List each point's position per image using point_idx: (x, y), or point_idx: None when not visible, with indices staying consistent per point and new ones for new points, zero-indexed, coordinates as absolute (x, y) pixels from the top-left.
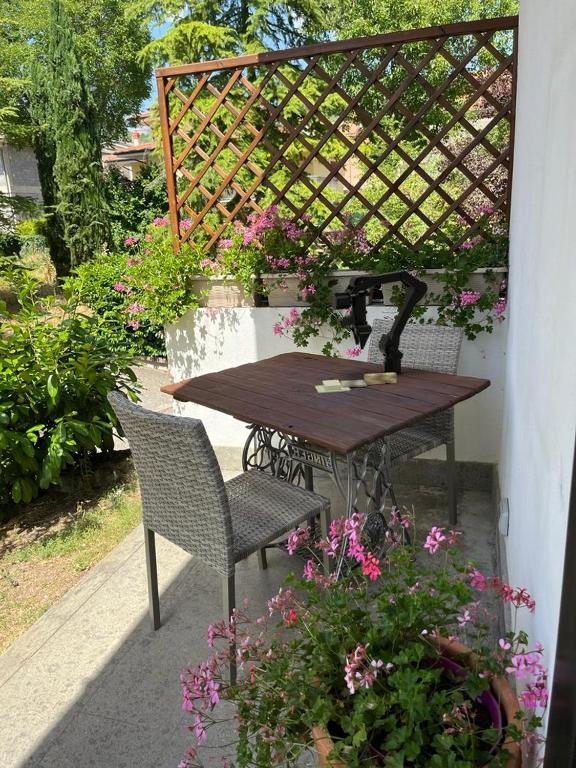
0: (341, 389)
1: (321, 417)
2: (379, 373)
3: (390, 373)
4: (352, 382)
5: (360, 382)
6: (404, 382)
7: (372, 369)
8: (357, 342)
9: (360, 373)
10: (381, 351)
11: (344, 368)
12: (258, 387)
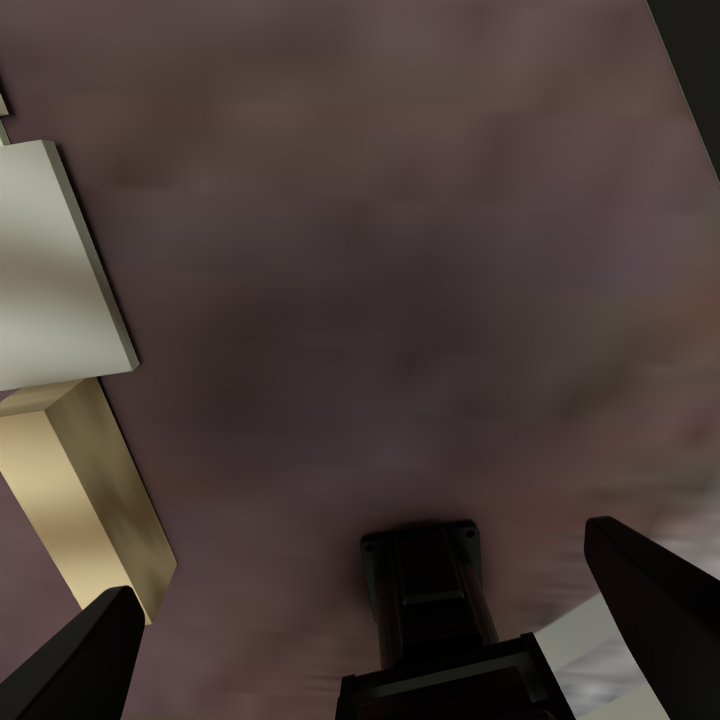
0: None
1: None
2: (97, 531)
3: None
4: (10, 274)
5: (30, 346)
6: None
7: (554, 455)
8: (613, 587)
9: (446, 359)
10: (467, 690)
11: (685, 220)
12: None
